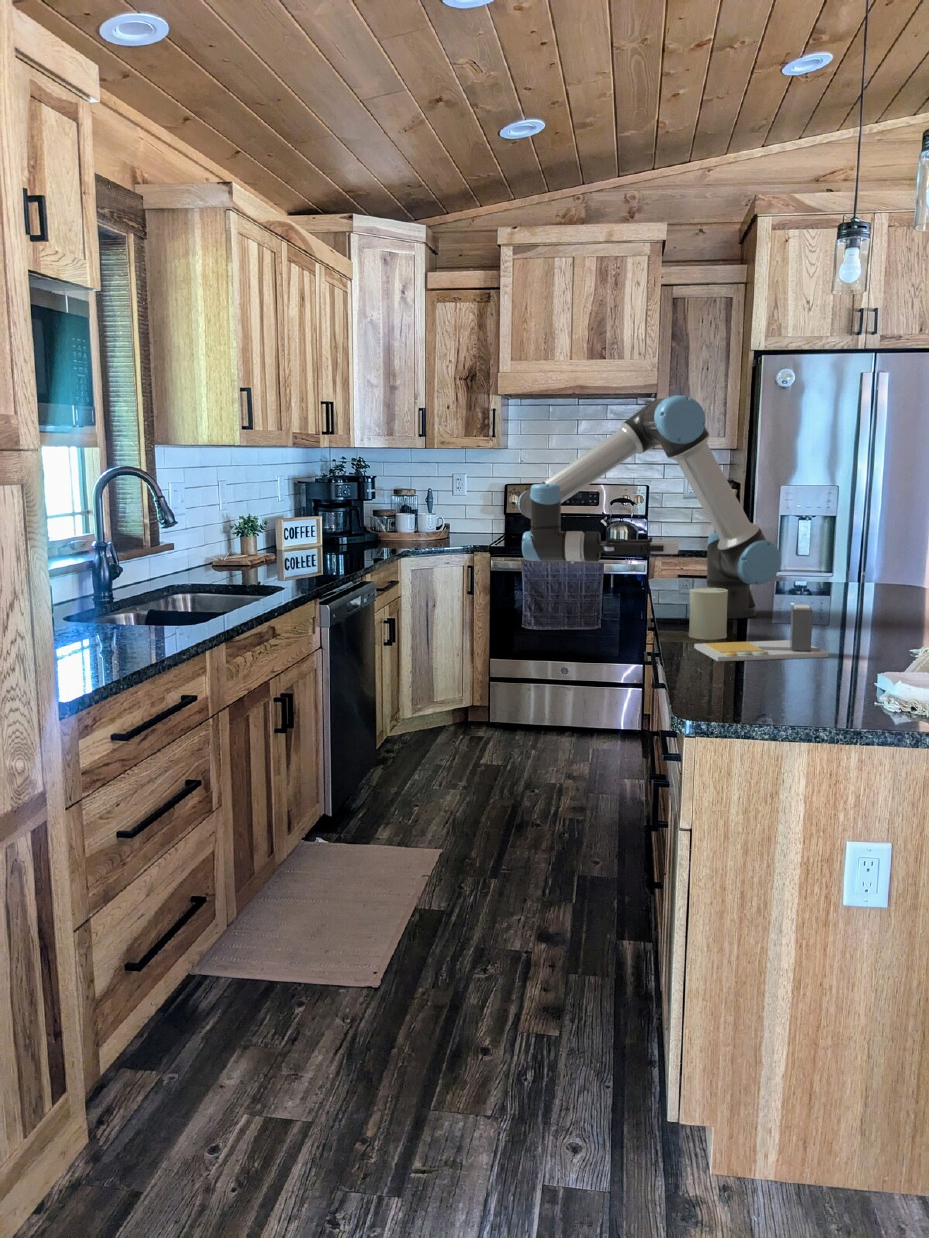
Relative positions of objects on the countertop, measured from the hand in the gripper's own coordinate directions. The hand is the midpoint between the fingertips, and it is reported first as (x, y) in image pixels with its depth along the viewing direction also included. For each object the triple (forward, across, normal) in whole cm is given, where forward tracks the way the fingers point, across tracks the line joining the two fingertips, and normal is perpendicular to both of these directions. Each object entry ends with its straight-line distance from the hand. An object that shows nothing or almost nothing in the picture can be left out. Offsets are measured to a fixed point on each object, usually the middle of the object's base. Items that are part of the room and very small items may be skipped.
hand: (678, 546), depth 231 cm
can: (+7, 0, -22) cm, 23 cm away
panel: (+19, +18, -22) cm, 34 cm away
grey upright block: (+27, +19, -21) cm, 39 cm away
